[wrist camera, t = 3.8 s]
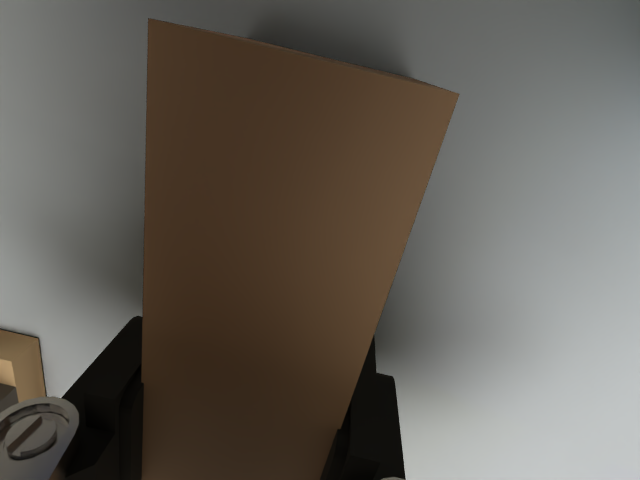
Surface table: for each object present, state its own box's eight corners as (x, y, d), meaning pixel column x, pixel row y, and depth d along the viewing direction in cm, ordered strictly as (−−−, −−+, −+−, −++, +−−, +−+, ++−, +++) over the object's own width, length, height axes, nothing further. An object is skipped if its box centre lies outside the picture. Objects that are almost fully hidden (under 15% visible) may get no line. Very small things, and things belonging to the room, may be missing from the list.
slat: (413, 78, 8) (459, 94, 4) (289, 489, 14) (265, 640, 10) (246, 37, 8) (148, 19, 4) (195, 467, 14) (137, 611, 10)
